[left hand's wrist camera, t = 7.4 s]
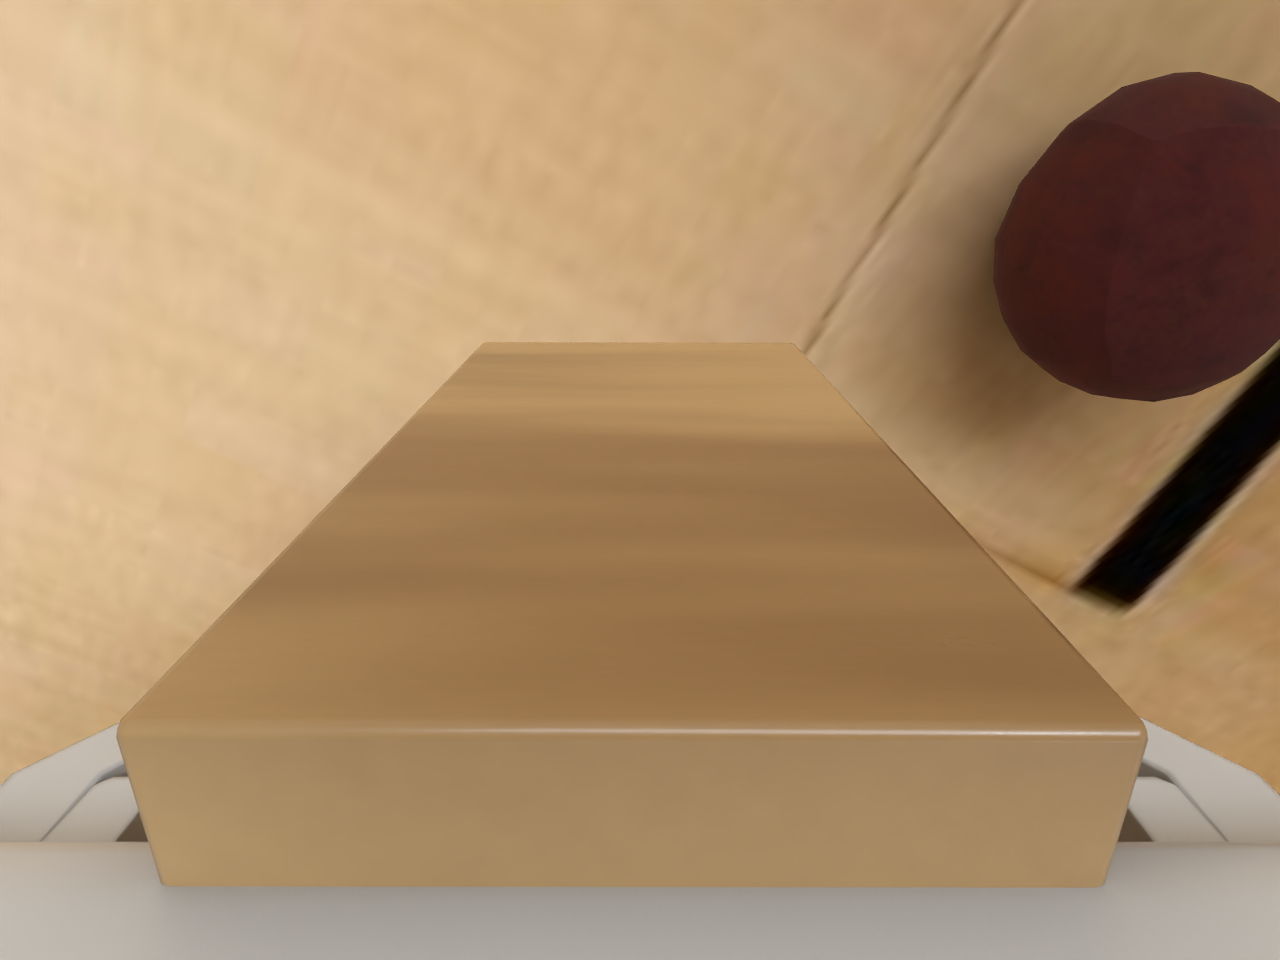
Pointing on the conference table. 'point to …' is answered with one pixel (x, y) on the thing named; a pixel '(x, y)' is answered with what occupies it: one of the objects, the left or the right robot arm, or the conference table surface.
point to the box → (633, 659)
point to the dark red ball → (1149, 241)
